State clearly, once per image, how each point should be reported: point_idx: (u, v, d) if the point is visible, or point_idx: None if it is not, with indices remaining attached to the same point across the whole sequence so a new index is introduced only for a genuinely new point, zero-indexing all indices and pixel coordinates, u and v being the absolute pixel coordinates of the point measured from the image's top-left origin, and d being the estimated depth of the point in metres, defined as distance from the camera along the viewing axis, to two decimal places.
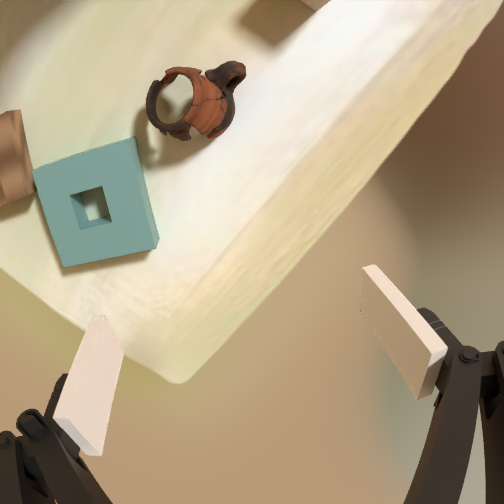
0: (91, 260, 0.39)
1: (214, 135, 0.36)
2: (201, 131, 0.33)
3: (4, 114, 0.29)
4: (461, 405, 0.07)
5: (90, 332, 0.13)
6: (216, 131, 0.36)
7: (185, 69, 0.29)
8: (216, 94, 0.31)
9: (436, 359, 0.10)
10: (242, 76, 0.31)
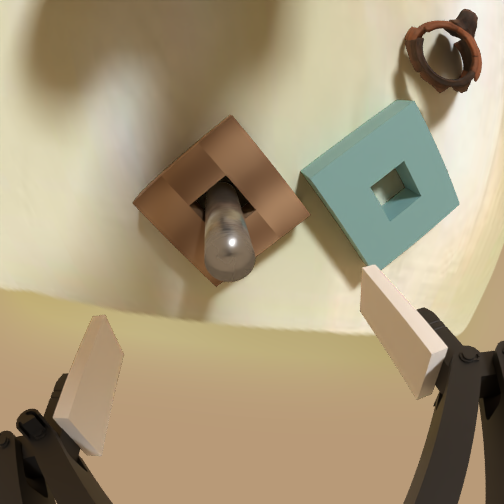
0: (405, 249, 0.34)
1: None
2: (476, 79, 0.24)
3: (229, 122, 0.26)
4: (461, 405, 0.07)
5: (90, 332, 0.13)
6: None
7: (447, 22, 0.21)
8: (475, 42, 0.22)
9: (436, 359, 0.10)
10: None
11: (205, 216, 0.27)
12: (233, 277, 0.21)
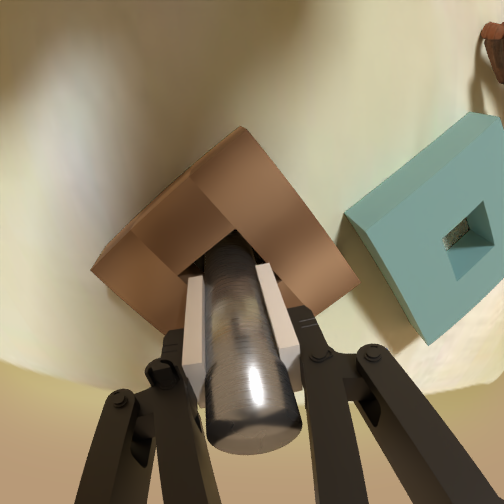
0: (467, 311, 0.23)
1: None
2: None
3: (240, 140, 0.16)
4: (328, 405, 0.09)
5: (193, 290, 0.16)
6: None
7: None
8: None
9: (288, 355, 0.11)
10: None
11: None
12: (259, 450, 0.10)
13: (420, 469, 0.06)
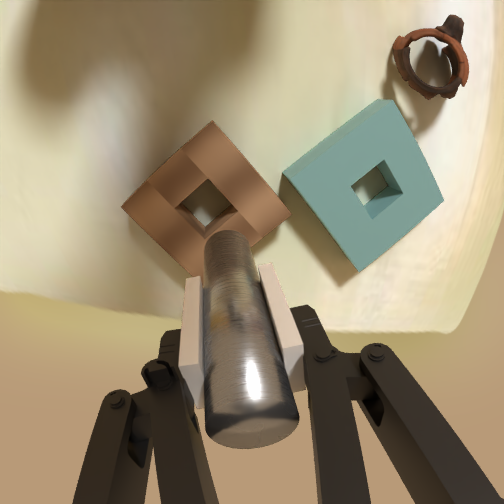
0: (389, 246, 0.35)
1: None
2: (464, 84, 0.26)
3: (209, 127, 0.28)
4: (332, 405, 0.09)
5: (191, 291, 0.16)
6: None
7: (432, 30, 0.23)
8: (461, 47, 0.24)
9: (292, 354, 0.11)
10: None
11: (203, 303, 0.16)
12: (257, 444, 0.10)
13: (422, 468, 0.06)
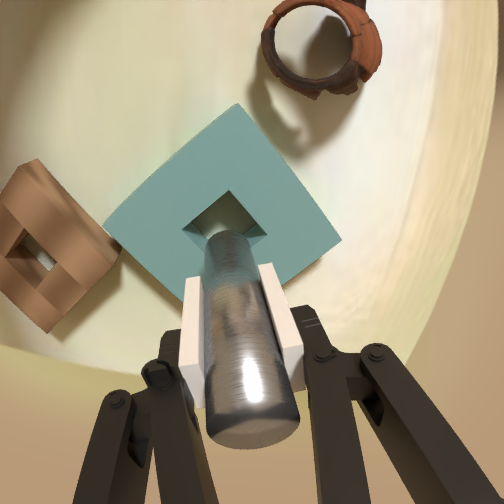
0: None
1: (370, 75, 0.22)
2: (371, 71, 0.19)
3: (16, 173, 0.21)
4: (332, 405, 0.09)
5: (191, 291, 0.16)
6: None
7: None
8: (364, 15, 0.17)
9: (292, 354, 0.11)
10: None
11: (204, 303, 0.16)
12: (258, 444, 0.10)
13: (422, 469, 0.06)
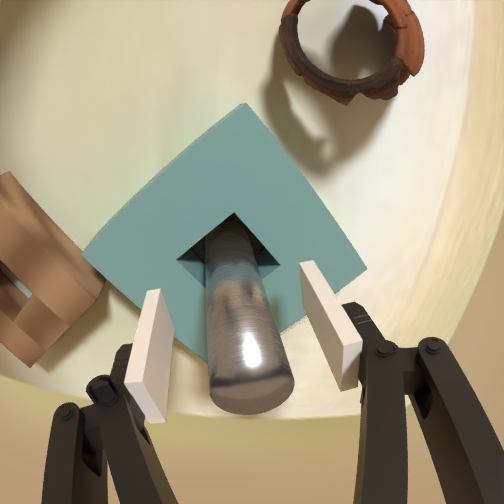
0: None
1: (407, 77, 0.18)
2: (414, 72, 0.15)
3: None
4: (386, 400, 0.08)
5: (149, 304, 0.15)
6: None
7: None
8: (406, 4, 0.13)
9: (351, 351, 0.11)
10: None
11: (206, 285, 0.18)
12: (257, 409, 0.12)
13: (459, 463, 0.06)
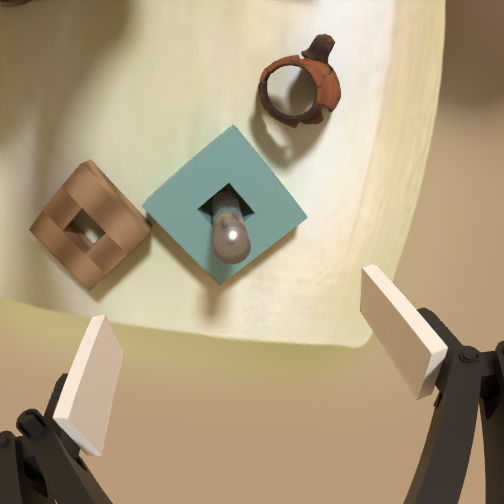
0: (247, 262, 0.41)
1: (334, 107, 0.35)
2: (331, 107, 0.32)
3: (79, 168, 0.33)
4: (461, 405, 0.07)
5: (90, 332, 0.13)
6: None
7: (287, 59, 0.29)
8: (326, 69, 0.30)
9: (436, 359, 0.10)
10: (332, 44, 0.30)
11: (213, 217, 0.34)
12: (234, 260, 0.29)
13: None
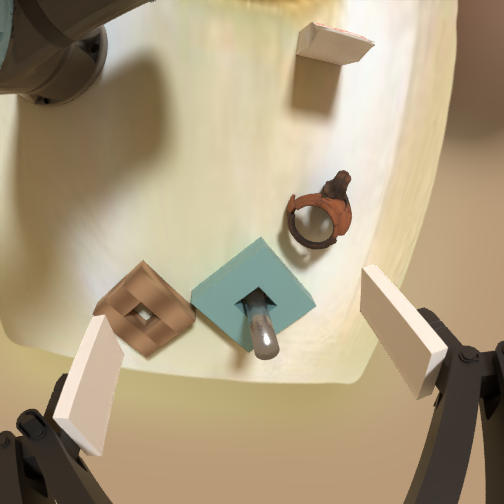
0: None
1: None
2: (343, 234, 0.44)
3: (137, 274, 0.45)
4: (461, 405, 0.07)
5: (91, 332, 0.13)
6: None
7: (312, 201, 0.41)
8: (342, 206, 0.42)
9: (436, 359, 0.10)
10: None
11: (248, 316, 0.46)
12: (268, 358, 0.41)
13: None
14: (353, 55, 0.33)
